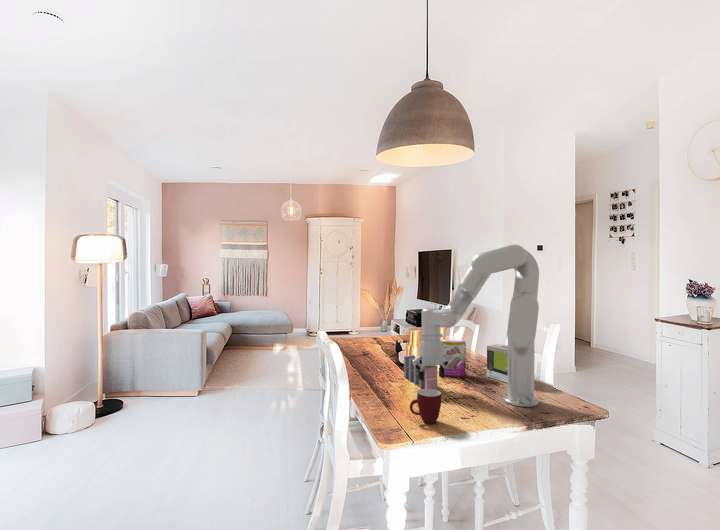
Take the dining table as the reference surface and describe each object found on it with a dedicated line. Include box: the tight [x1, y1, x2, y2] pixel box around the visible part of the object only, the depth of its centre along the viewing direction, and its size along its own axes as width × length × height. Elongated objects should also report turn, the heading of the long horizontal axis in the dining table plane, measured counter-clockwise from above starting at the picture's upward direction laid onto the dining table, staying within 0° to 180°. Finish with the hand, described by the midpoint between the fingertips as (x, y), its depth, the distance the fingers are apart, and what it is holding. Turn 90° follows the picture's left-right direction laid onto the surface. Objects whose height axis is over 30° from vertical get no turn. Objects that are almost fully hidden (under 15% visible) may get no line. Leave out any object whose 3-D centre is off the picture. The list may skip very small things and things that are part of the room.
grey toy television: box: [486, 343, 508, 384], centre depth 179 cm, size 15×10×15 cm, turn 28°
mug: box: [409, 388, 443, 425], centre depth 133 cm, size 10×8×10 cm
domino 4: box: [418, 366, 428, 389], centre depth 169 cm, size 2×5×10 cm, turn 110°
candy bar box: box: [440, 339, 467, 377], centre depth 186 cm, size 11×5×16 cm, turn 84°
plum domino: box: [424, 365, 438, 390], centre depth 164 cm, size 2×5×10 cm, turn 111°
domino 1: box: [403, 354, 416, 379], centre depth 182 cm, size 2×5×10 cm, turn 110°
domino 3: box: [413, 362, 419, 386], centre depth 173 cm, size 2×5×10 cm, turn 110°
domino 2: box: [408, 357, 416, 383], centre depth 178 cm, size 2×5×10 cm, turn 110°
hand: (431, 378), depth 164 cm, fingers open, 9 cm apart
